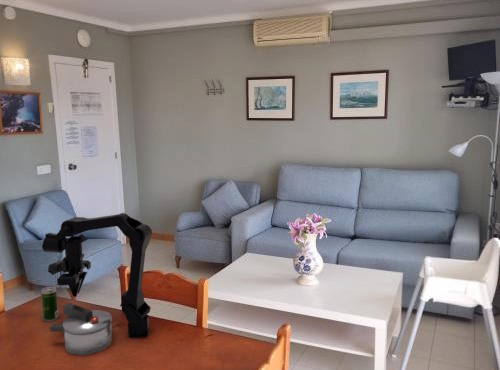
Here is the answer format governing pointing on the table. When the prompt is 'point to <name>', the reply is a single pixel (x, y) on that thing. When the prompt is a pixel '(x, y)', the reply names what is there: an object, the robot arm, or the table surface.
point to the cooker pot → (85, 340)
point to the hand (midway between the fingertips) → (76, 294)
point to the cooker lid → (84, 320)
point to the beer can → (49, 303)
